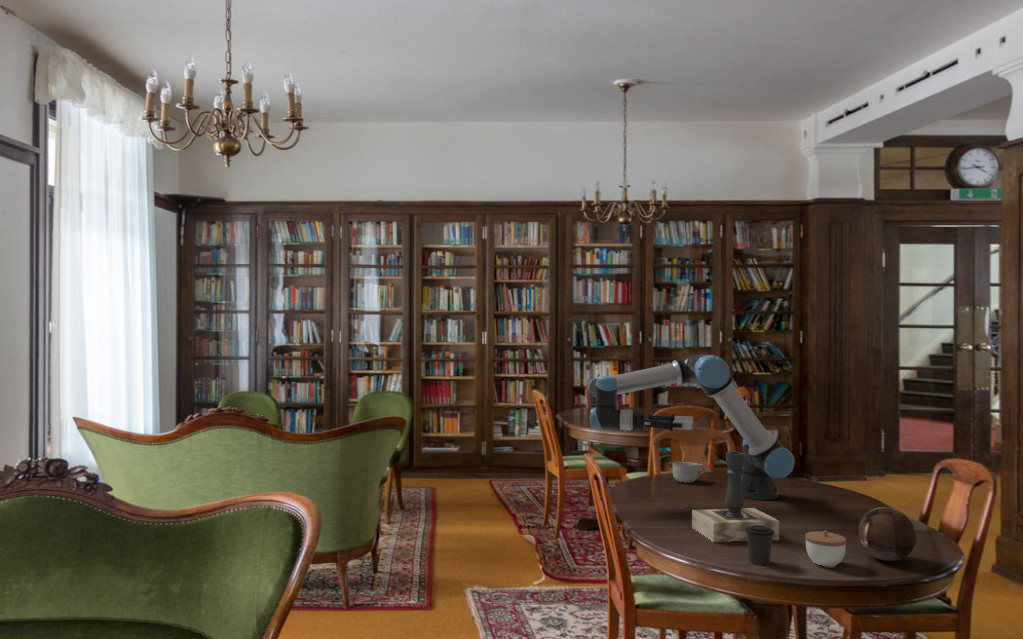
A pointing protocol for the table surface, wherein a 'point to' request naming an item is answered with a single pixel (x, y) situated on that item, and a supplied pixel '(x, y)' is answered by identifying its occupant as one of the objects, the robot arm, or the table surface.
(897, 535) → the clear glass sphere
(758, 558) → the coffee cup
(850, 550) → the table surface
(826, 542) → the lidded jar
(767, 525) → the socket block
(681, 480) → the teacup
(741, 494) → the candle holder
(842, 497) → the table surface
